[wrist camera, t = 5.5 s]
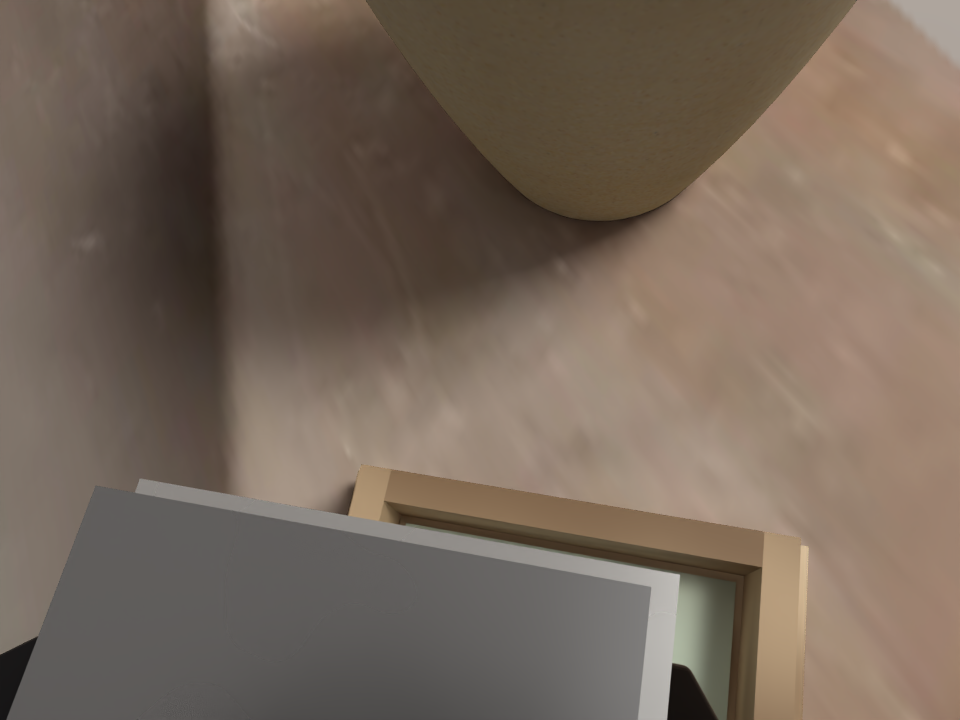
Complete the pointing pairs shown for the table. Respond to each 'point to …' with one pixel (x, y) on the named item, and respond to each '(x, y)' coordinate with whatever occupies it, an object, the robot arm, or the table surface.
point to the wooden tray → (651, 545)
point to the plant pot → (606, 86)
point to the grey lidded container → (336, 621)
